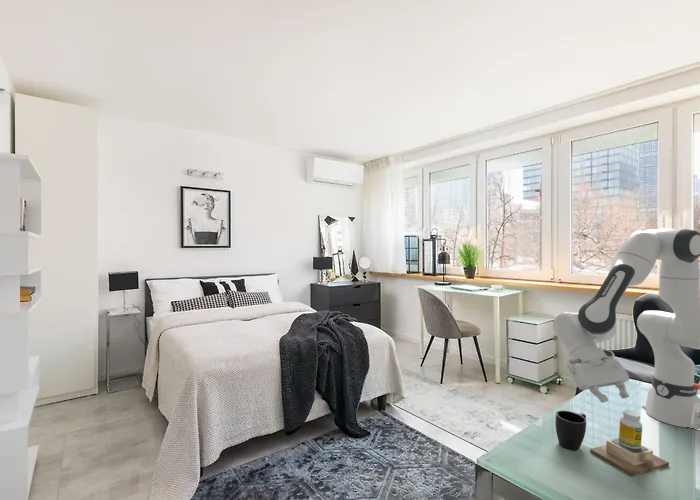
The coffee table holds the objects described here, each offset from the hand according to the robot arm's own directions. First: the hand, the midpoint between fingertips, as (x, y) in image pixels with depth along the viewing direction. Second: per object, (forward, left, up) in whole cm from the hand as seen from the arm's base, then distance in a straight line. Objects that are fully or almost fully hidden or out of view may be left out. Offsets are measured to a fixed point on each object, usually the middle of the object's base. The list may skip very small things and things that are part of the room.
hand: (615, 399), depth 114 cm
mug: (+10, -6, -16) cm, 20 cm away
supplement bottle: (0, +5, -12) cm, 13 cm away
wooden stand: (0, +5, -16) cm, 17 cm away
